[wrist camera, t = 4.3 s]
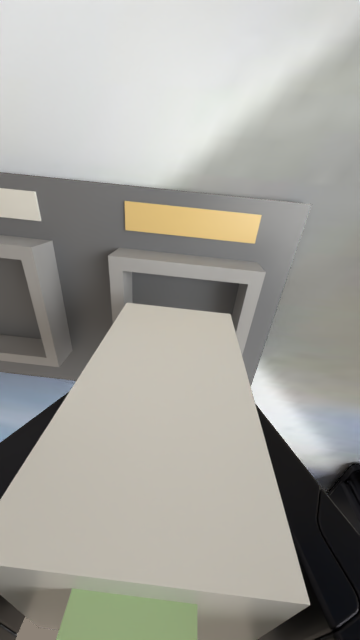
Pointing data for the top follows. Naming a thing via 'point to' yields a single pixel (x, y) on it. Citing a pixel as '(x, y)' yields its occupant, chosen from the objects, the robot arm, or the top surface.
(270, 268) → the panel
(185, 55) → the top surface
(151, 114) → the top surface
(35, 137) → the top surface
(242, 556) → the plug
